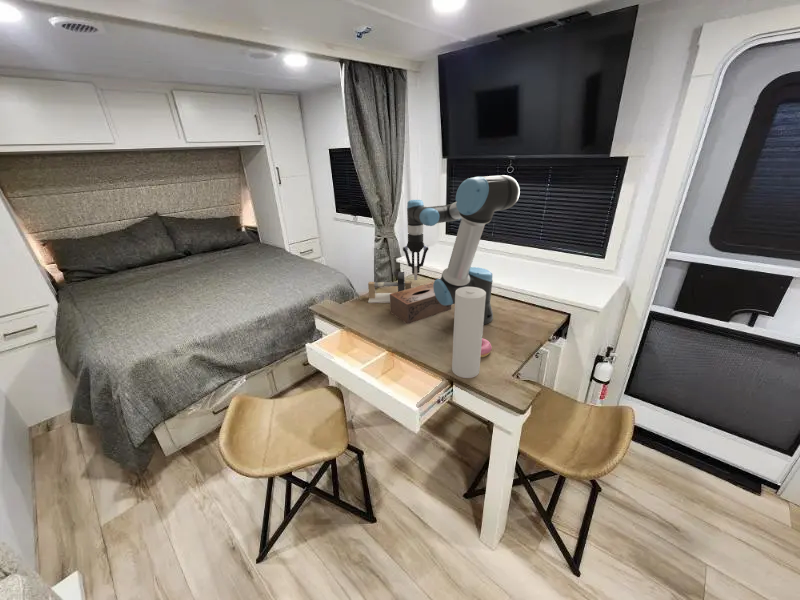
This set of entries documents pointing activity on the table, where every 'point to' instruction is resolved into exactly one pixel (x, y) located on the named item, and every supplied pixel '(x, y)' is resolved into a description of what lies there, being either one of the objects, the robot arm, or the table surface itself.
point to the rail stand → (383, 296)
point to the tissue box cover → (416, 303)
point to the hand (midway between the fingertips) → (415, 279)
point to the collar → (401, 281)
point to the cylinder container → (468, 331)
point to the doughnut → (485, 347)
